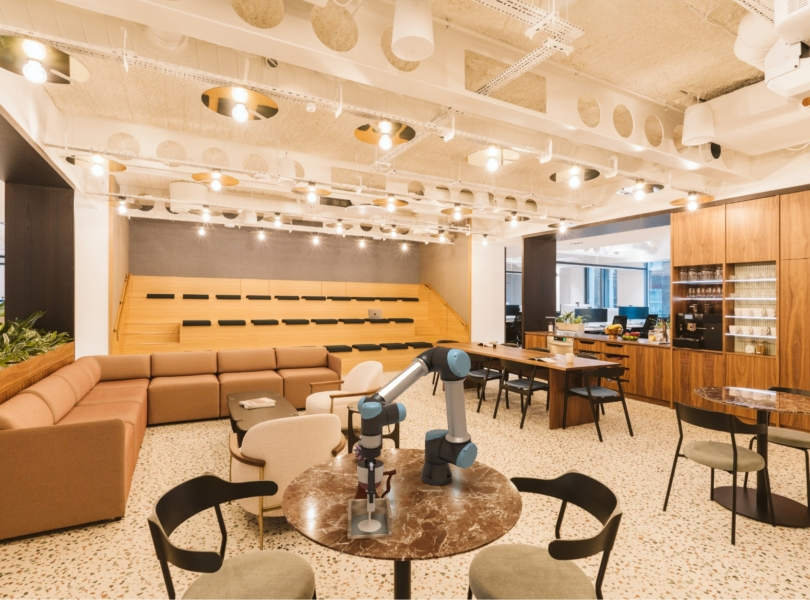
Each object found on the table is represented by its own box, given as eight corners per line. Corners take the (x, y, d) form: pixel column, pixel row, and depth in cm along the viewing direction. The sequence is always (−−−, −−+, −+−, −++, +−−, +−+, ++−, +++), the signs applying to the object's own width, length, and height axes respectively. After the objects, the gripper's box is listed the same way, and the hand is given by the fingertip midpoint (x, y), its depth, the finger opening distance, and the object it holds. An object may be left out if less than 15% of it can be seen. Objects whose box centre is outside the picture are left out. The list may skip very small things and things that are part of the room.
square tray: (388, 515, 163) (388, 497, 163) (392, 536, 148) (392, 517, 148) (347, 517, 161) (348, 499, 161) (347, 539, 146) (347, 519, 146)
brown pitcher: (395, 497, 178) (396, 462, 178) (396, 510, 166) (397, 473, 167) (353, 498, 177) (354, 463, 177) (352, 511, 165) (352, 474, 165)
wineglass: (356, 519, 157) (357, 459, 157) (382, 518, 158) (383, 458, 158) (355, 532, 148) (356, 468, 148) (383, 531, 149) (384, 468, 149)
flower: (350, 465, 212) (350, 442, 212) (356, 457, 224) (357, 435, 224) (372, 467, 210) (372, 444, 210) (377, 458, 222) (377, 436, 222)
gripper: (360, 434, 165) (359, 487, 165) (361, 457, 140) (360, 520, 140) (378, 433, 166) (378, 486, 166) (383, 457, 141) (382, 518, 141)
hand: (370, 501), depth 153 cm, fingers open, 13 cm apart
